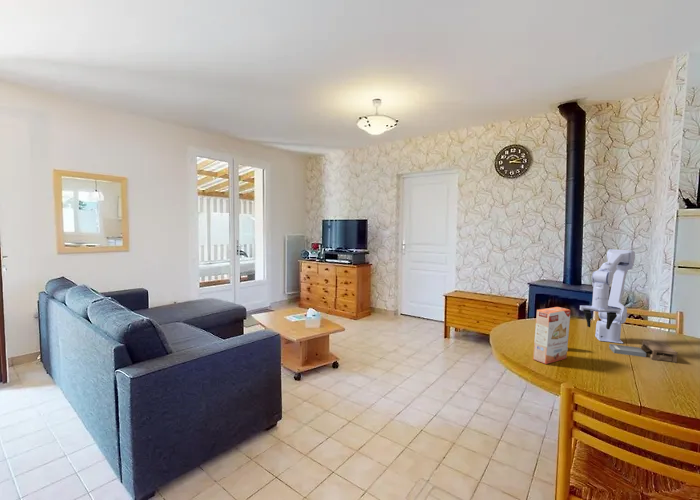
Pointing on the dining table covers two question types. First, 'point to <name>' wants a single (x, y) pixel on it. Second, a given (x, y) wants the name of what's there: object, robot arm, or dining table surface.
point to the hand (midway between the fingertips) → (598, 327)
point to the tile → (627, 350)
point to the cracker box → (551, 334)
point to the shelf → (659, 351)
